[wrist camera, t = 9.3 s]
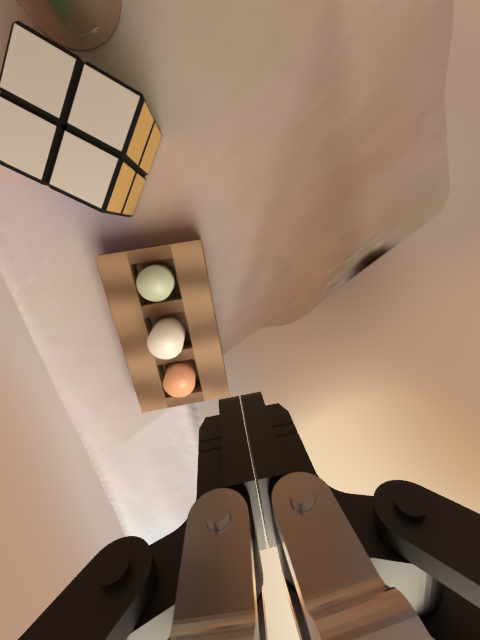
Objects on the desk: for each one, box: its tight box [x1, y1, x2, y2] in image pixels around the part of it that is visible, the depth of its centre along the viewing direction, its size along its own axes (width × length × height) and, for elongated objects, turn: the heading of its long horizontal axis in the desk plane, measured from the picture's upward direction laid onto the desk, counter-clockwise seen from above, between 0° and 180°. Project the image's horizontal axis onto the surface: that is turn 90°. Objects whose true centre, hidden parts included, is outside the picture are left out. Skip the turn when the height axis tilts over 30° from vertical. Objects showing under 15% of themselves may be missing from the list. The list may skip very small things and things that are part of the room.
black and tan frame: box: [0, 21, 162, 217], centre depth 27 cm, size 10×10×10 cm
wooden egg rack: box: [94, 239, 229, 413], centre depth 37 cm, size 21×12×4 cm, turn 8°
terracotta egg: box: [163, 359, 196, 397], centre depth 38 cm, size 4×4×4 cm
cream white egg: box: [147, 316, 186, 359], centre depth 34 cm, size 4×4×4 cm
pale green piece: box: [136, 263, 176, 302], centre depth 34 cm, size 4×4×4 cm
